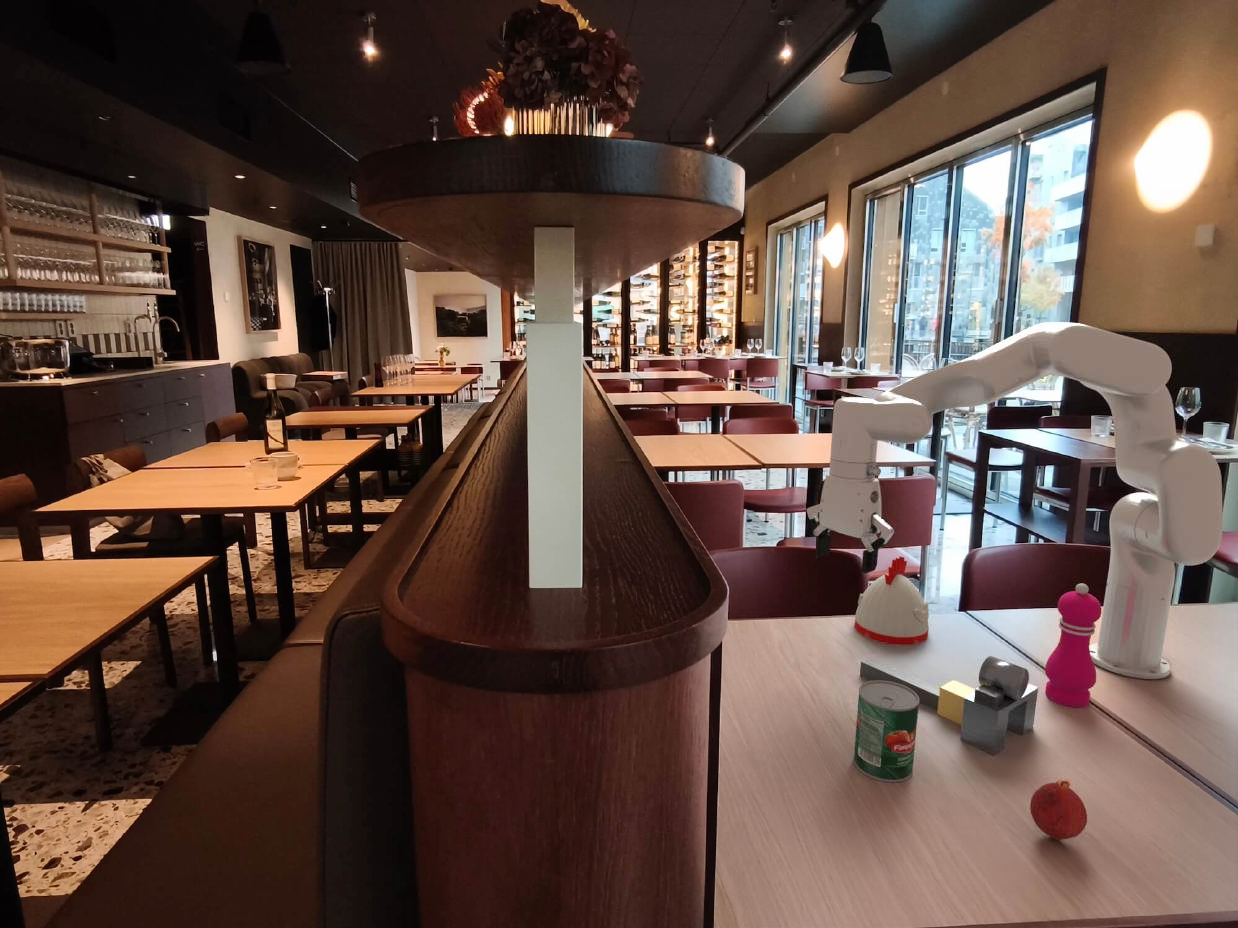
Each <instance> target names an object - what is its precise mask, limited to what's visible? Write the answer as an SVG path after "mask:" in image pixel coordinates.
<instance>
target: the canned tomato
mask: <svg viewBox="0 0 1238 928" xmlns="http://www.w3.org/2000/svg"><path fill="white" fill-rule="evenodd" d="M857 699H858V700H857V714H856V726H855V727H856V728H855V729H856V730H855V737H854V739H855V740H854V754H853V763H854V765H855V767H856V769H858V771H859V772H861V773H862V774H863V775H865V776H867V777H868V778H871V779H874V780H876V781H880V782H884V783H901V782H904V781H907V780H909V779H910V778H911V776H912V775H913V773H914V769H913V767H914V760H915V759H914V758H915V749H916V740H917V739H916V738H917V727H918V726H917V725H918V719H919V718H918V715H919V705H920V703H919V697H918V695H917V694H916V693H915V692H914V691H913V690H911V689H910V688H908V687H906V686H904V685H901V684H898V683H894V682H890V681H881V680H877V681H871V680H868V681H866V682H863V683H862V684H860V686H859V688H858V698H857Z"/></svg>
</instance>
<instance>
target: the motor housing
mask: <svg viewBox="0 0 1238 928" xmlns="http://www.w3.org/2000/svg"><path fill="white" fill-rule="evenodd" d="M1029 680H1030V673H1029V671H1028V669H1027V668H1025V667H1022V666H1019V665H1017V664H1014V663H1011V662H1009V661H1006V660H1004V659H1001V658H998V657H995V656H992V655H989V656H988V657H986V658H985V659H984V661H983V662H982V663H981V667H980V669H979V674H978V683H979V686H977V687H976V688H974V689H975V692H974V693H972V694H970V695H968V696H967V697H965V698H964V707H963V717H962V725H960V726H961V728H960V736H959V739H960V740H961V741H962V742H965V743H967V744H969V745H971V746H973V747H975V748H977V749H979V750H981V751H984V752H986V753H987V754H989V755H992V756H994V755H996V754H997V753H999V752H1001V751H1002V750H1003V749H1004V748H1005V745H1006V739H1007V738H1006V737H1007V730H1011V731H1013V732H1015V733H1017V734H1020V735H1025V734H1026V733H1028V732H1029V731H1031V730H1032V729H1033V728H1034V724H1035V723H1034V722H1035V717H1036V715H1035V714H1036V706H1037V700H1038V692H1039V687H1038V686H1035V685H1033V684H1030V683H1029V682H1030V681H1029Z"/></svg>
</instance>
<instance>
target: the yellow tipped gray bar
mask: <svg viewBox="0 0 1238 928" xmlns="http://www.w3.org/2000/svg"><path fill="white" fill-rule="evenodd" d="M859 669H860V670H859V676H861V677H863V678H865V679H868V681H877V680H881V681H890V682H894V683H898V684H901V685H904V686H906V687H908V688H910V689H911V690H913V691H914V692H915V693H916V694H917V695H918V697H919V704H922V705H923V706H926V707H928V708H930V709H932V710H934V711H937V712H936V713H937V715H940V716H942V717H944V718H946V719H948V720H950V721H952V722H954V723H956V724H958V725H960V726H962V717H963V707H964V698H965V697H967V696H968V695H970V694H972V693H974V692H975V689H976V688H974V687H971V686H970V685H966V684H964V683H962V682H960V681H957V680H955V679H952V680H951V681H948V682H947V683H946V684H943V685H942V686H940V687H938V686H935V685H933V684H930V683H928V682H925V681H923V680H921V679H919V678H916V677H914V676H913V675H911V674H910V675H909V674H907V673H905V672H902V671H900V670H897V669H896V668H893V667H891V666H888V665H886V664H884V663H881V662H879V661H877V660H875V659H872V658H870V657H868V658H866V659H864V660H861V661H860V667H859Z"/></svg>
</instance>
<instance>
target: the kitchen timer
mask: <svg viewBox="0 0 1238 928" xmlns="http://www.w3.org/2000/svg"><path fill="white" fill-rule="evenodd" d="M907 563H908V562H907V560H905V556H904V557H903V556H899V557H898V558H897V557H895V559H892V560H891V566H888V567H887V568H888V569H887V570H888V573H885V574H883V575H880V576H879V577H878V578H877V579H875V580H874V581H873V582H872V583H870V585H869V586H868V587H867V588H866V589H865V591H863V593H860V594H859V597H858V601H857V604H858V606H857V609H856V612H855V616H854V617H855V620H854V628H855V630H856V631H857V632H858V634H859V633H860V635H862V636H864V637H866V638H868V639H871V640H873V641H876V642H879V643H883V642H884V643H883V644H888V645H889V644H890V645H895V646H896V645H898V646H907V645H908V646H909V645H910V646H911V645H917V644H920V643H923V642H925V641H927V639H928V637H929V626H930V625H929V618H930V617H929V616H930V615H929V614H930V613H929V602H927V601H926V602H925V601H924V599H923V597H922V594H921V593H920V591H919V590H918V588H917V587H916V586H915V584H914V583H913V582H912V581H911V580H910V579H908V578H907V577H906V576H905V571H906V569H907Z"/></svg>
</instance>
